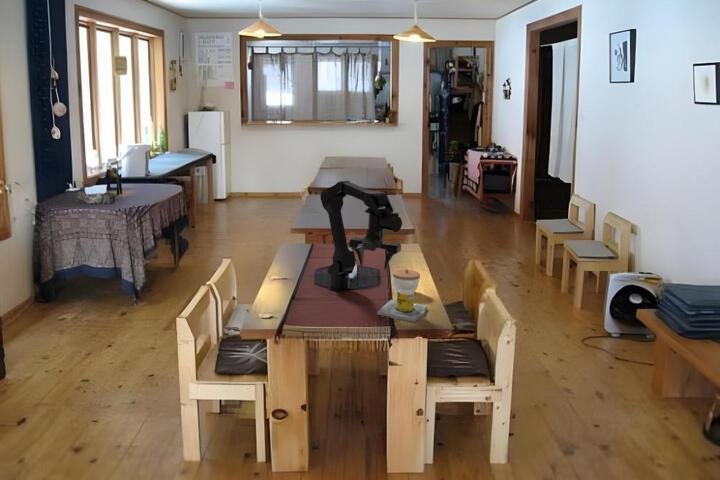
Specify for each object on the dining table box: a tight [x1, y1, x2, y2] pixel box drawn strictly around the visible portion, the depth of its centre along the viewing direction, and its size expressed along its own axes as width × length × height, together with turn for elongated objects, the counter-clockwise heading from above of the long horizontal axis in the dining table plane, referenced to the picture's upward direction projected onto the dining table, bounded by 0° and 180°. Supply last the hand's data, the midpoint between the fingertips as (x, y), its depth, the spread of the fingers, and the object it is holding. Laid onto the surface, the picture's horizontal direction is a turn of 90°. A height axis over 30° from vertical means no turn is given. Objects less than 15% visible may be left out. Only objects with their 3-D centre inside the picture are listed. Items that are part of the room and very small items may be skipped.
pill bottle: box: [396, 281, 416, 313], centre depth 272 cm, size 6×6×11 cm
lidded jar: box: [392, 268, 421, 293], centre depth 296 cm, size 11×11×9 cm
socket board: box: [376, 299, 428, 323], centre depth 274 cm, size 15×16×1 cm
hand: (373, 267), depth 281 cm, fingers open, 9 cm apart
